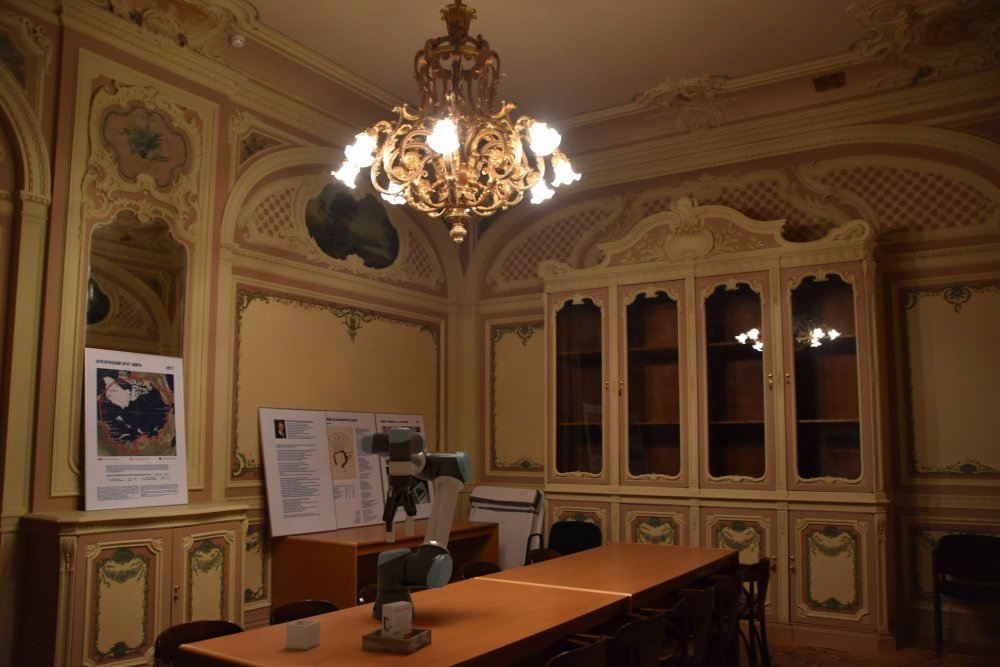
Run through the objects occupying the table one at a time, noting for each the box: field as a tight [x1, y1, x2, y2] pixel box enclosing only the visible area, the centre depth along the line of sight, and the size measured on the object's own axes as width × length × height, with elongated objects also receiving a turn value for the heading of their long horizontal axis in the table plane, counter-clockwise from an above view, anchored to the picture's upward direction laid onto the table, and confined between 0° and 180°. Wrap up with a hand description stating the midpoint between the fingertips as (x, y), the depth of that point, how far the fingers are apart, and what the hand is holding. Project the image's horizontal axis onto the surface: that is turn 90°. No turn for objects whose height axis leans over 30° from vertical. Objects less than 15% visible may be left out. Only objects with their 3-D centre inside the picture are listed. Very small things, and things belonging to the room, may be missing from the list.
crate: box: [361, 627, 432, 656], centre depth 256 cm, size 15×16×4 cm
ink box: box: [381, 601, 413, 640], centre depth 256 cm, size 9×5×12 cm, turn 138°
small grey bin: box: [285, 619, 321, 651], centre depth 256 cm, size 7×7×7 cm
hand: (400, 538), depth 275 cm, fingers open, 13 cm apart
